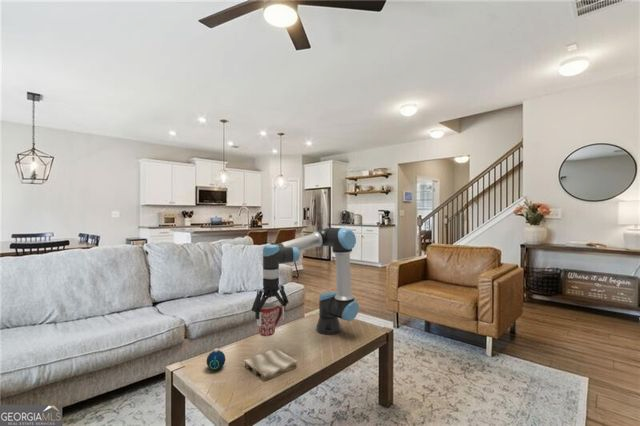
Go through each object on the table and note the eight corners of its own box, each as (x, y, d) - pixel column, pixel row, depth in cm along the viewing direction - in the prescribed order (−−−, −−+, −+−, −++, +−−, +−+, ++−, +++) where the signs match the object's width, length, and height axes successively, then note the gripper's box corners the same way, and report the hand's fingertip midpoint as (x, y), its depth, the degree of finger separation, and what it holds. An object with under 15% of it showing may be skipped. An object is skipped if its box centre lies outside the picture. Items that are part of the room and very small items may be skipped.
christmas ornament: (202, 372, 142) (202, 350, 142) (213, 363, 150) (213, 343, 150) (218, 374, 140) (218, 353, 139) (228, 365, 148) (228, 345, 148)
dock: (275, 354, 160) (275, 348, 159) (297, 367, 146) (297, 361, 146) (244, 366, 147) (244, 360, 147) (265, 381, 134) (265, 375, 134)
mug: (263, 339, 139) (263, 309, 139) (253, 332, 146) (254, 304, 146) (286, 332, 147) (286, 304, 147) (276, 326, 154) (276, 299, 154)
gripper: (286, 272, 157) (286, 314, 158) (243, 279, 141) (243, 326, 141) (295, 274, 152) (295, 318, 152) (252, 282, 135) (252, 331, 135)
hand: (270, 322), depth 146 cm, fingers closed on mug, 12 cm apart
